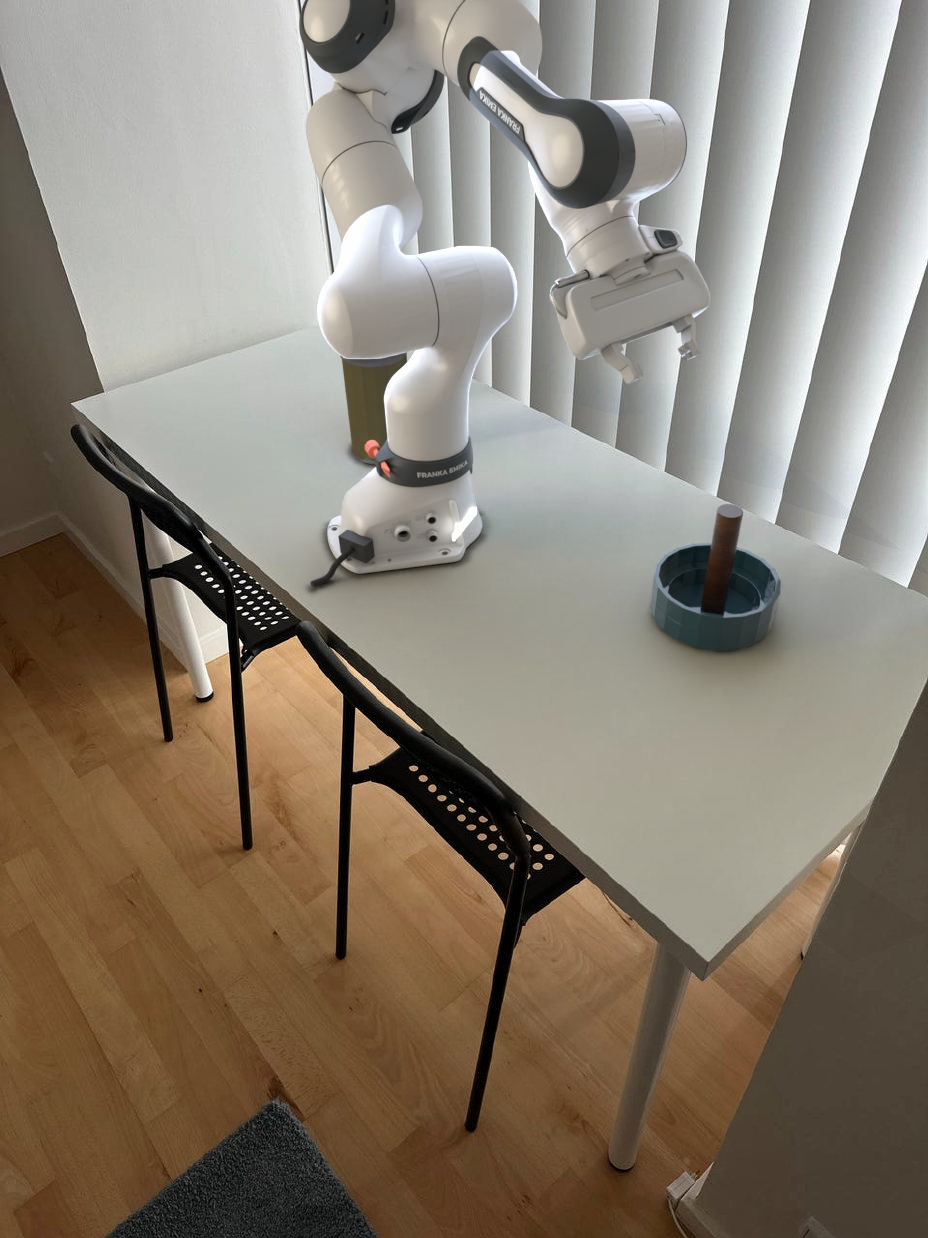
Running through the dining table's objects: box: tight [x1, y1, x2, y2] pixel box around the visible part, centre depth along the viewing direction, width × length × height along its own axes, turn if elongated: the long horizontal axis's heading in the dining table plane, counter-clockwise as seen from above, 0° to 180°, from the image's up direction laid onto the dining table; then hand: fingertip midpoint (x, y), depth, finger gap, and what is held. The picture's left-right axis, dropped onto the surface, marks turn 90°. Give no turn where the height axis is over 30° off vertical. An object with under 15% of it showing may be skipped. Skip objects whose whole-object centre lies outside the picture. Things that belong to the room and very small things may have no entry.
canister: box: [339, 352, 408, 466], centre depth 150 cm, size 11×10×20 cm
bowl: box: [649, 542, 782, 652], centre depth 119 cm, size 15×15×6 cm
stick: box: [701, 503, 744, 615], centre depth 116 cm, size 3×3×15 cm
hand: (664, 368), depth 110 cm, fingers open, 8 cm apart
